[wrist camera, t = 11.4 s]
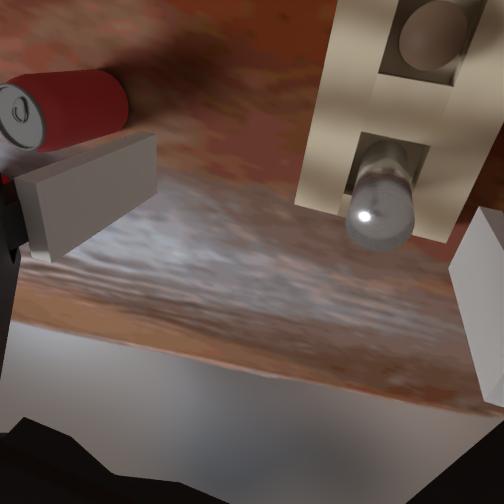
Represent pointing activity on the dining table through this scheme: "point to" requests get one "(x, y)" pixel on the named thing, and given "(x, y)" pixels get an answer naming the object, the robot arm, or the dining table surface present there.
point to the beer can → (60, 109)
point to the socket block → (408, 102)
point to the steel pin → (382, 199)
